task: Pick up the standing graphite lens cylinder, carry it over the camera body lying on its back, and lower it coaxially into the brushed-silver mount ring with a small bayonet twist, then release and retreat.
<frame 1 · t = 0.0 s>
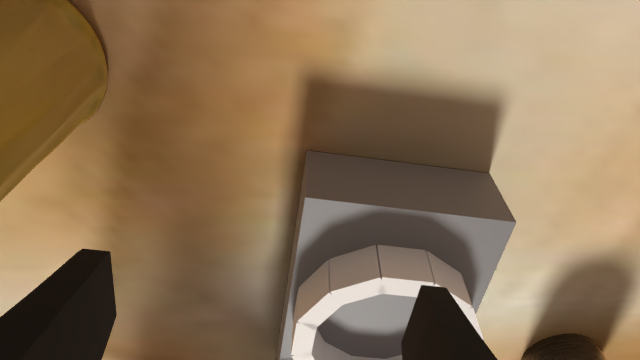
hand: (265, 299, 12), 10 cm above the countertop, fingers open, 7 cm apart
vase: (29, 54, 19), on the countertop
camera body: (369, 273, 25), on the countertop
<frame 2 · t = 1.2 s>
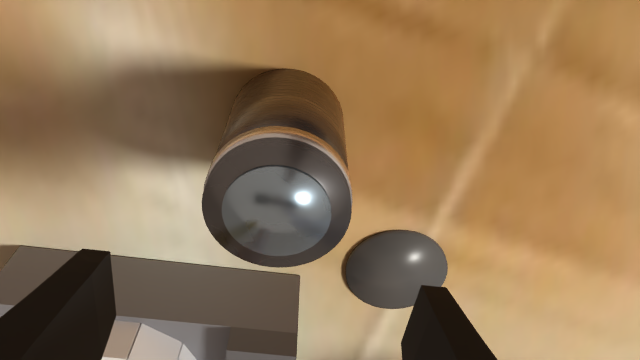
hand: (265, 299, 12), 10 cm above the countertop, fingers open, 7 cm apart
lens cap: (394, 264, 24), on the countertop
camera body: (164, 319, 26), on the countertop
lens: (287, 122, 20), on the countertop
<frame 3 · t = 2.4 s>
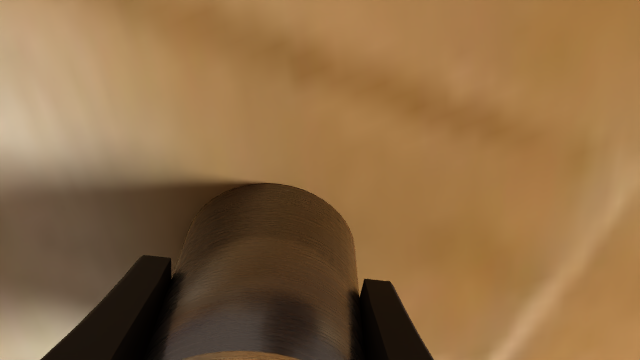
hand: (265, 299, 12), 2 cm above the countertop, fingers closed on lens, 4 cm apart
lens: (271, 254, 13), on the countertop, touching gripper
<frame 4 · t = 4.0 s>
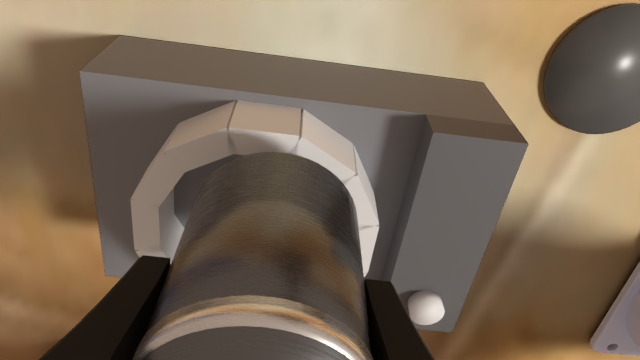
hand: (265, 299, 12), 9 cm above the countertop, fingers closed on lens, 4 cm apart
lens cap: (606, 68, 19), on the countertop
camera body: (294, 156, 20), on the countertop
lens: (275, 223, 14), point 7 cm above the countertop, touching gripper
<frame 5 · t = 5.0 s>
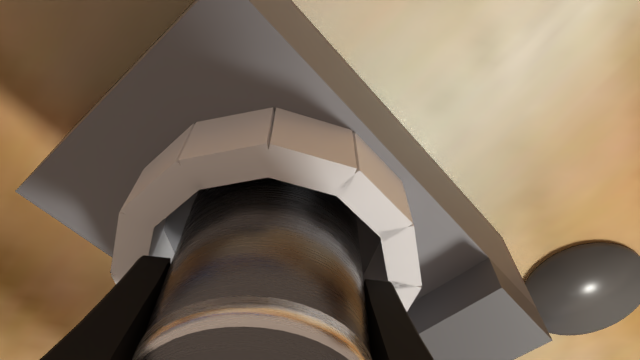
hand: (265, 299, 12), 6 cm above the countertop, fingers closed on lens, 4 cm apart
lens cap: (578, 283, 20), on the countertop
camera body: (301, 187, 17), on the countertop
lens: (274, 224, 14), point 4 cm above the countertop, touching gripper
when the fingers open (6 cm above the countertop, at t = 5.6 s): lens stays where it is, resting on camera body.
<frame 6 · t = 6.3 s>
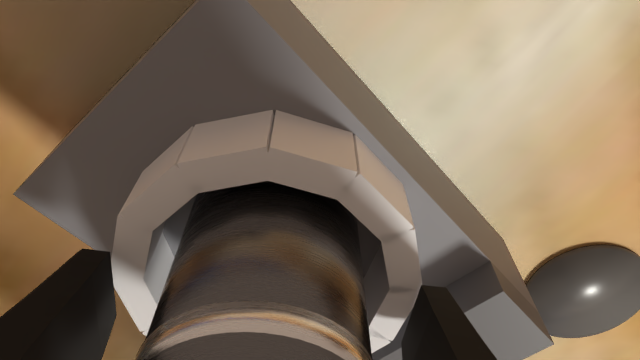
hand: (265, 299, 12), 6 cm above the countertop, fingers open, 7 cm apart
lens cap: (580, 285, 20), on the countertop
camera body: (301, 189, 17), on the countertop
lens: (274, 224, 14), point 4 cm above the countertop, touching camera body
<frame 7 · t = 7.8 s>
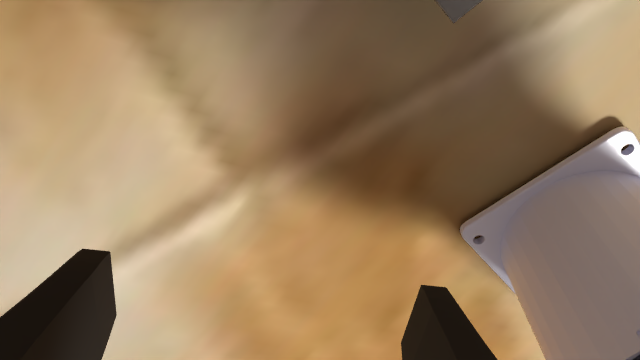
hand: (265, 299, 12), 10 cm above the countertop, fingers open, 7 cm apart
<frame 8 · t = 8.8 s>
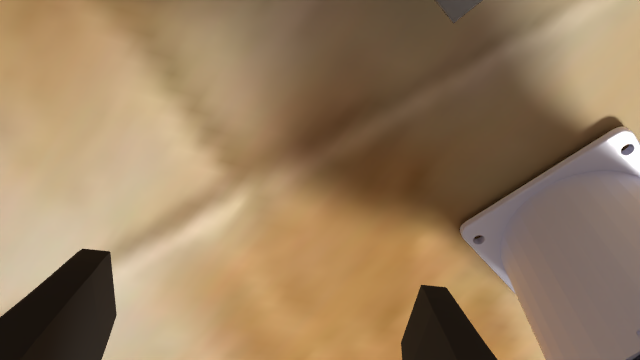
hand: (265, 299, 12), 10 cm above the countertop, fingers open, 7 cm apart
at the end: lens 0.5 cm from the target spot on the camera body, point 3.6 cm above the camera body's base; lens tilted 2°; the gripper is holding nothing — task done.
